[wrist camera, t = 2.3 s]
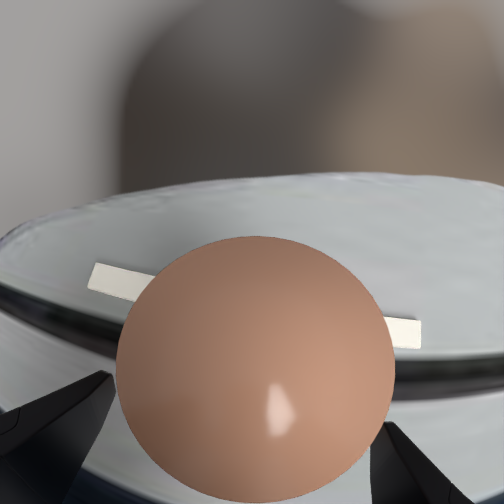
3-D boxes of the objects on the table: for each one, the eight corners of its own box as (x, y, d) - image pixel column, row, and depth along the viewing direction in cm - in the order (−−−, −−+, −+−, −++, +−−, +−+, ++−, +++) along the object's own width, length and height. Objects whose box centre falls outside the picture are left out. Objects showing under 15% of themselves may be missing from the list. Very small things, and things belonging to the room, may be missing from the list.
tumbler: (210, 428, 15) (134, 503, 3) (200, 348, 17) (118, 250, 6) (295, 417, 15) (410, 461, 4) (283, 338, 18) (358, 226, 6)
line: (89, 288, 19) (86, 287, 18) (98, 264, 19) (96, 262, 19) (417, 348, 17) (420, 347, 17) (418, 322, 18) (420, 320, 18)
